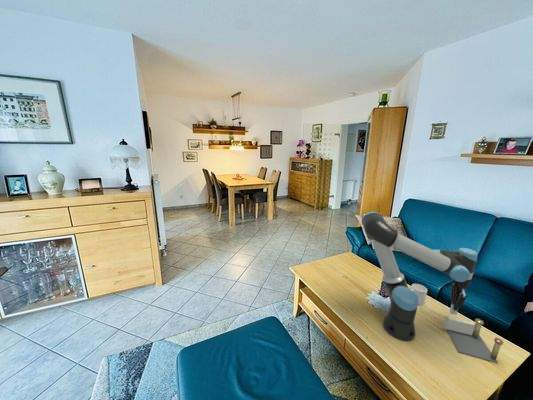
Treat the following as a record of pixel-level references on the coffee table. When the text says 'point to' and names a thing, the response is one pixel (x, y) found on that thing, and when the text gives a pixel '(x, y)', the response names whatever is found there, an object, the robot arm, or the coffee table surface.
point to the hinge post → (477, 328)
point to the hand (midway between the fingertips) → (453, 313)
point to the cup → (419, 292)
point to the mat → (470, 345)
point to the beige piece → (459, 325)
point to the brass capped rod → (496, 348)
